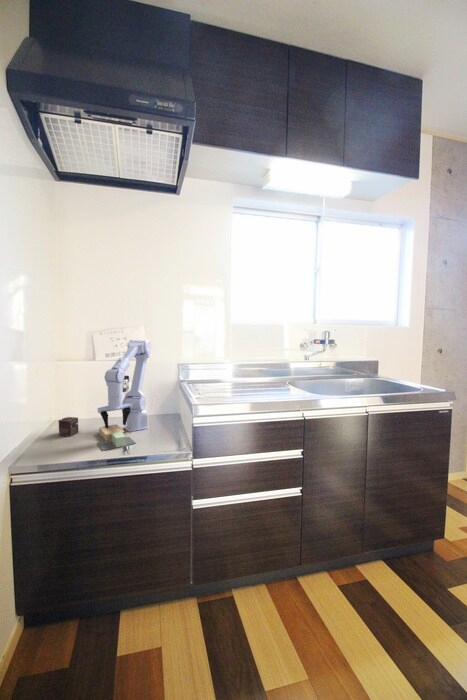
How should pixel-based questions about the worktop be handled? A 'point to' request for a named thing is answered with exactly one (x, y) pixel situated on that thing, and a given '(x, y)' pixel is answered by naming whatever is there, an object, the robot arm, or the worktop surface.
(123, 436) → the block
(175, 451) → the worktop surface
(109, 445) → the mat
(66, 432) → the box
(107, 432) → the step
